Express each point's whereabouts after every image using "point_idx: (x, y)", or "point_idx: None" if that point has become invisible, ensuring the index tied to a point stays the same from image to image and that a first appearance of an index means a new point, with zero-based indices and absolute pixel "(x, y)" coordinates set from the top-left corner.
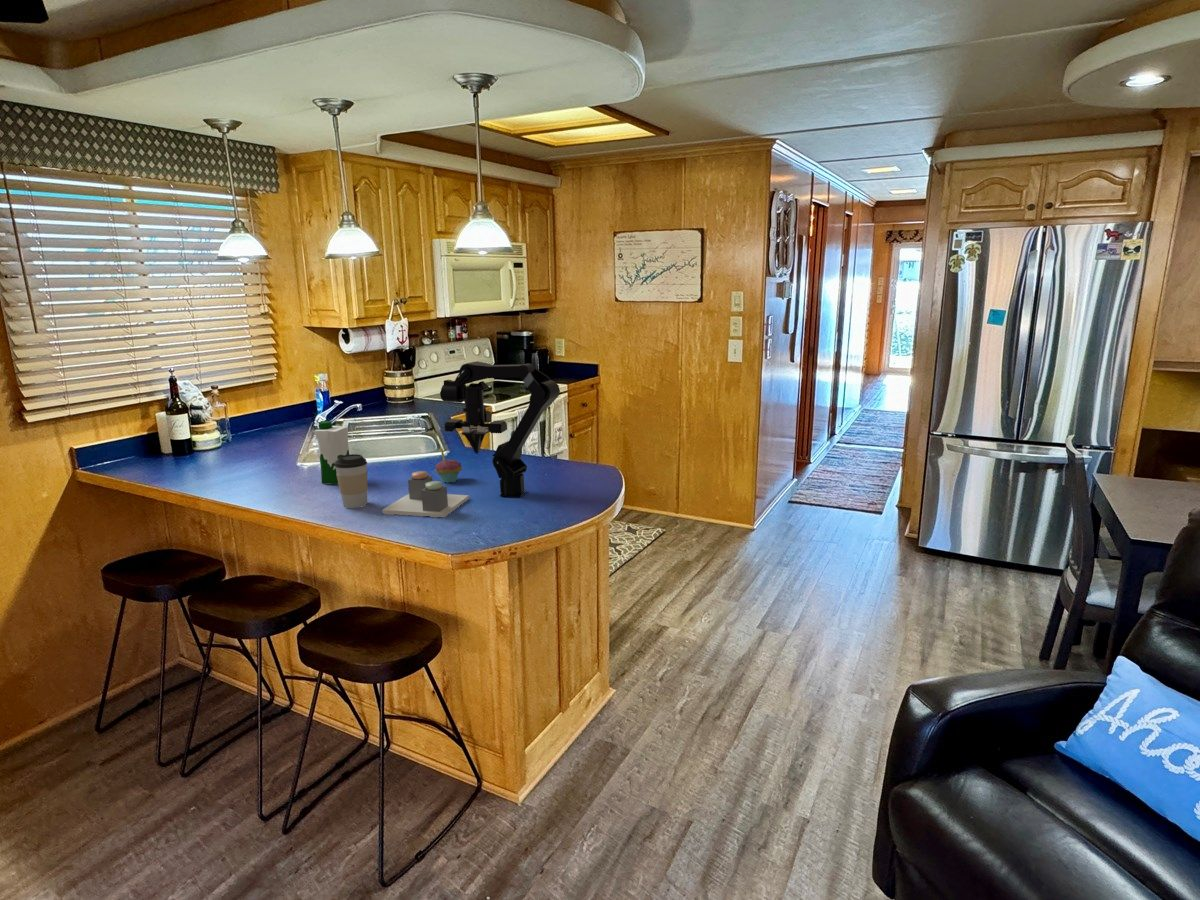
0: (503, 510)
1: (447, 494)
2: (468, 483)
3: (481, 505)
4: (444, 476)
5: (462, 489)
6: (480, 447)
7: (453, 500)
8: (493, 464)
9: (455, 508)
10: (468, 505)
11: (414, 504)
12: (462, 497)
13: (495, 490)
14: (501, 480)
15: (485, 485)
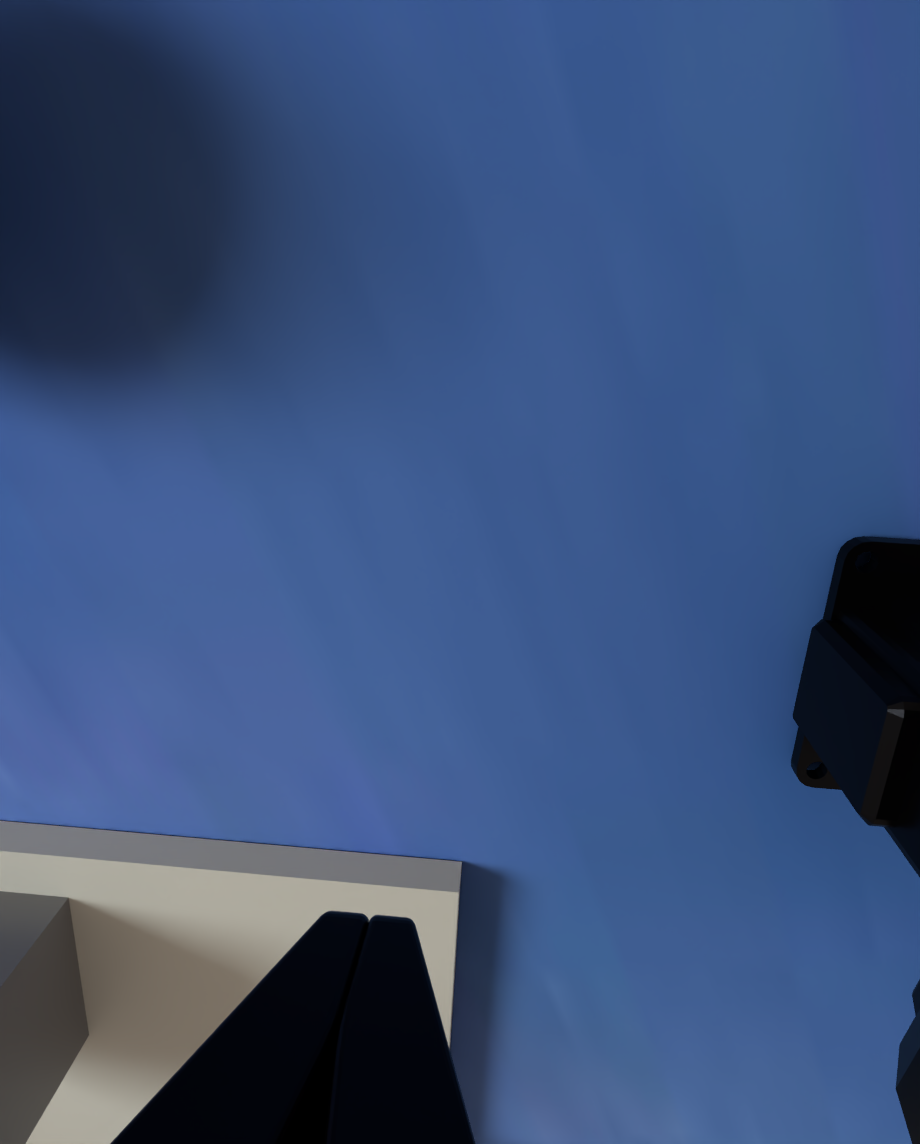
0: None
1: (208, 880)
2: (177, 257)
3: (651, 1007)
4: None
5: (228, 541)
6: (452, 1064)
7: None
8: (905, 1109)
9: None
10: (523, 1012)
11: (65, 1131)
12: None
13: (672, 535)
14: (896, 844)
15: (462, 325)
